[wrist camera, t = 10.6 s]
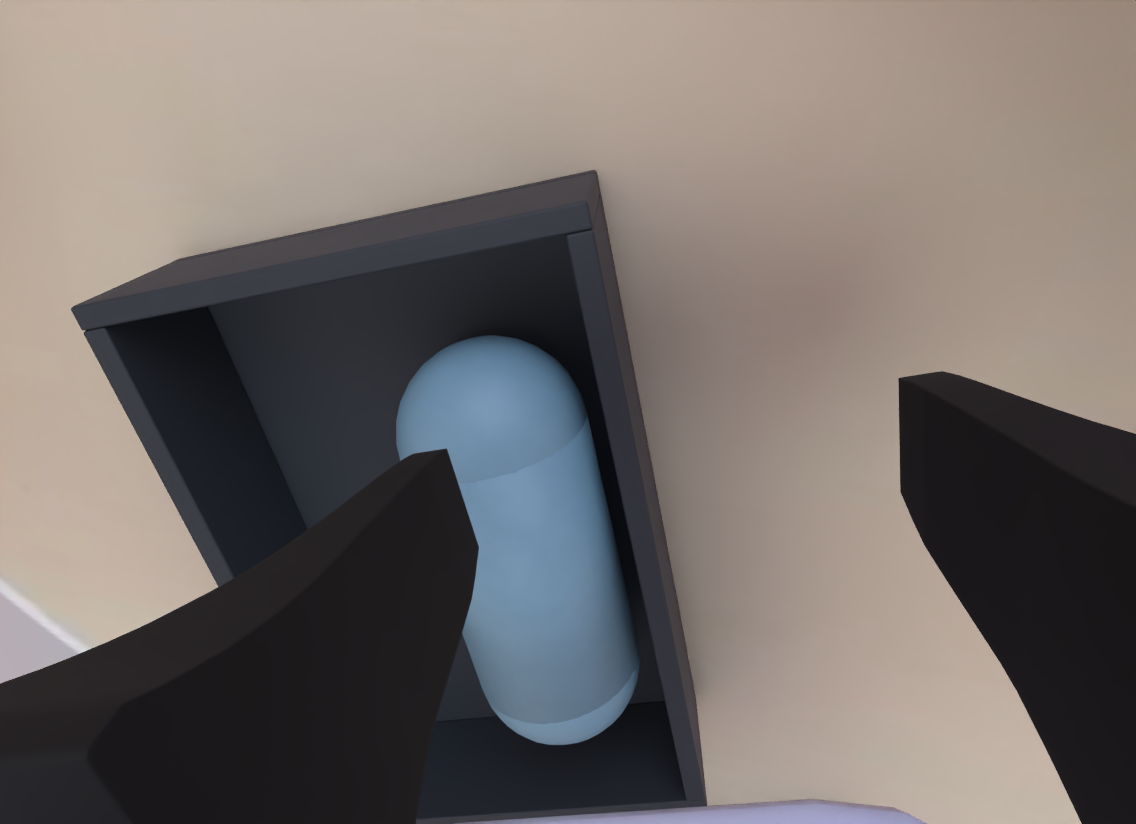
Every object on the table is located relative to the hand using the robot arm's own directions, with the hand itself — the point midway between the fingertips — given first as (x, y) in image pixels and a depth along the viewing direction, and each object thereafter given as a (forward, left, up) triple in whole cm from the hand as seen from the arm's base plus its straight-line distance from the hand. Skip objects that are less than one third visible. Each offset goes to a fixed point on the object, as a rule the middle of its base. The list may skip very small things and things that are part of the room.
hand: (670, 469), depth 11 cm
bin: (-6, +7, -9) cm, 13 cm away
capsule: (-6, +7, -8) cm, 12 cm away
